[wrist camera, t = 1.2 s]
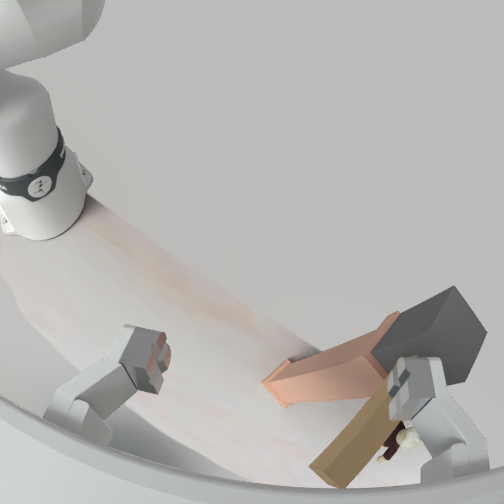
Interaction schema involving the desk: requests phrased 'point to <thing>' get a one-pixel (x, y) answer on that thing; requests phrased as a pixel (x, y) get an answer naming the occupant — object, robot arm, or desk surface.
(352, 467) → the mallet
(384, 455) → the grandmother figurine
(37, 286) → the desk surface
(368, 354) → the stand
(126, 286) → the desk surface
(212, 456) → the desk surface
